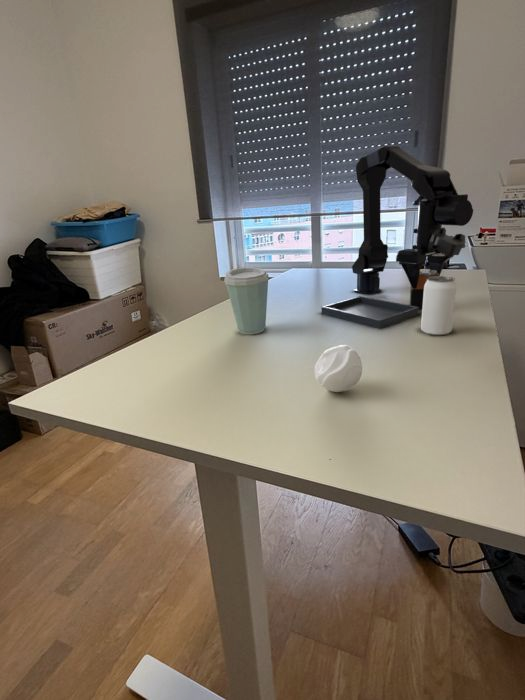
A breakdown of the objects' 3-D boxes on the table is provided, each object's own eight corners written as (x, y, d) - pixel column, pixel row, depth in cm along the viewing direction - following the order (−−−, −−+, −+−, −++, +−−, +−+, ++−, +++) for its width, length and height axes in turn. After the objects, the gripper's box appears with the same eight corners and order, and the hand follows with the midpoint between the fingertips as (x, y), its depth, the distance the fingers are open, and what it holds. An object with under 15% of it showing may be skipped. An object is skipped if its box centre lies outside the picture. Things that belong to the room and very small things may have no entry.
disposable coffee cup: (280, 331, 99) (277, 269, 94) (241, 341, 94) (236, 276, 89) (258, 321, 108) (254, 265, 102) (222, 330, 103) (215, 271, 97)
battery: (437, 310, 107) (440, 272, 104) (410, 309, 109) (412, 272, 106) (435, 305, 111) (439, 269, 108) (409, 305, 113) (411, 269, 109)
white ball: (311, 381, 72) (310, 340, 69) (353, 377, 72) (354, 336, 69) (320, 402, 64) (320, 357, 62) (367, 398, 65) (369, 353, 62)
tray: (321, 313, 111) (321, 306, 110) (359, 302, 120) (359, 295, 119) (379, 328, 96) (380, 320, 95) (418, 314, 105) (419, 307, 104)
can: (455, 329, 92) (461, 277, 88) (445, 337, 88) (450, 282, 84) (427, 325, 96) (431, 274, 92) (415, 332, 92) (419, 280, 88)
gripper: (438, 228, 91) (432, 296, 97) (480, 221, 101) (472, 283, 107) (396, 227, 100) (393, 290, 105) (439, 220, 110) (434, 278, 115)
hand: (424, 285), depth 108 cm, fingers open, 9 cm apart
